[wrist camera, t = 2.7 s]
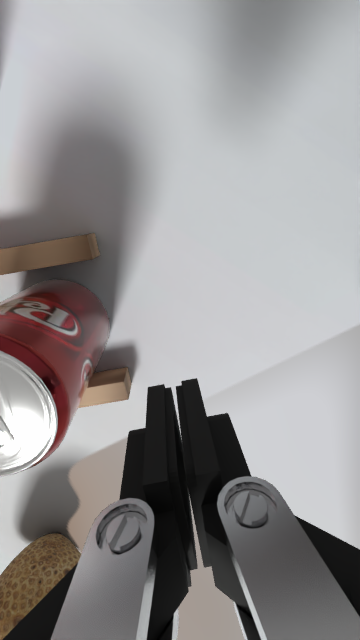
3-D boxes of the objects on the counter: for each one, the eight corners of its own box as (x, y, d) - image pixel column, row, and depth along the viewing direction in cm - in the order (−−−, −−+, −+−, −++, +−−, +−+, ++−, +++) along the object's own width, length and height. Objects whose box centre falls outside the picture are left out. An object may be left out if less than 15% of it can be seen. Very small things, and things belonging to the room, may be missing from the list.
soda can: (-1, 295, 23) (-160, 370, 12) (88, 264, 23) (13, 310, 11) (43, 375, 25) (-55, 502, 14) (125, 348, 25) (92, 457, 14)
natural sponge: (122, 536, 32) (105, 672, 22) (71, 582, 33) (34, 725, 24) (49, 494, 29) (-5, 625, 20) (-2, 545, 31) (-74, 688, 22)
